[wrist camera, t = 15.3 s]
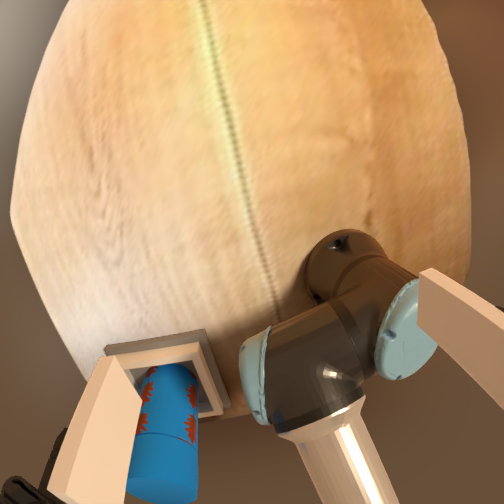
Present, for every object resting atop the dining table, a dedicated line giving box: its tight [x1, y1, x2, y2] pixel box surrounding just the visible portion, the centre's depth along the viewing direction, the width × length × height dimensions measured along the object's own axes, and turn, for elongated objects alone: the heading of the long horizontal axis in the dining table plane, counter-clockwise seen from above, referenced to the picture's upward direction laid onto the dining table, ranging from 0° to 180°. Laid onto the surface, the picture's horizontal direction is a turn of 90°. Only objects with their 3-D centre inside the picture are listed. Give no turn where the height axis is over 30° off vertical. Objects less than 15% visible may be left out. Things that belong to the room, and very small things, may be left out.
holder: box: [105, 329, 231, 418], centre depth 50 cm, size 20×20×4 cm
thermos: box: [125, 363, 199, 504], centre depth 39 cm, size 11×11×25 cm
